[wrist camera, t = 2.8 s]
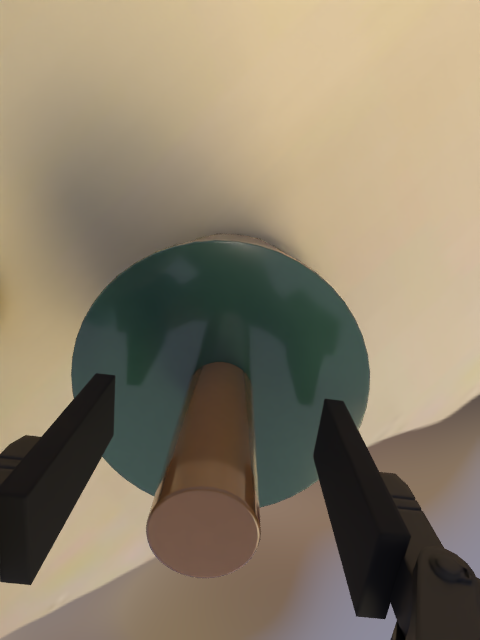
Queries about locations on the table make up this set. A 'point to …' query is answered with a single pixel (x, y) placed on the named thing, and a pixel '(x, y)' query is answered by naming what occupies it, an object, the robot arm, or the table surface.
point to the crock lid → (219, 389)
